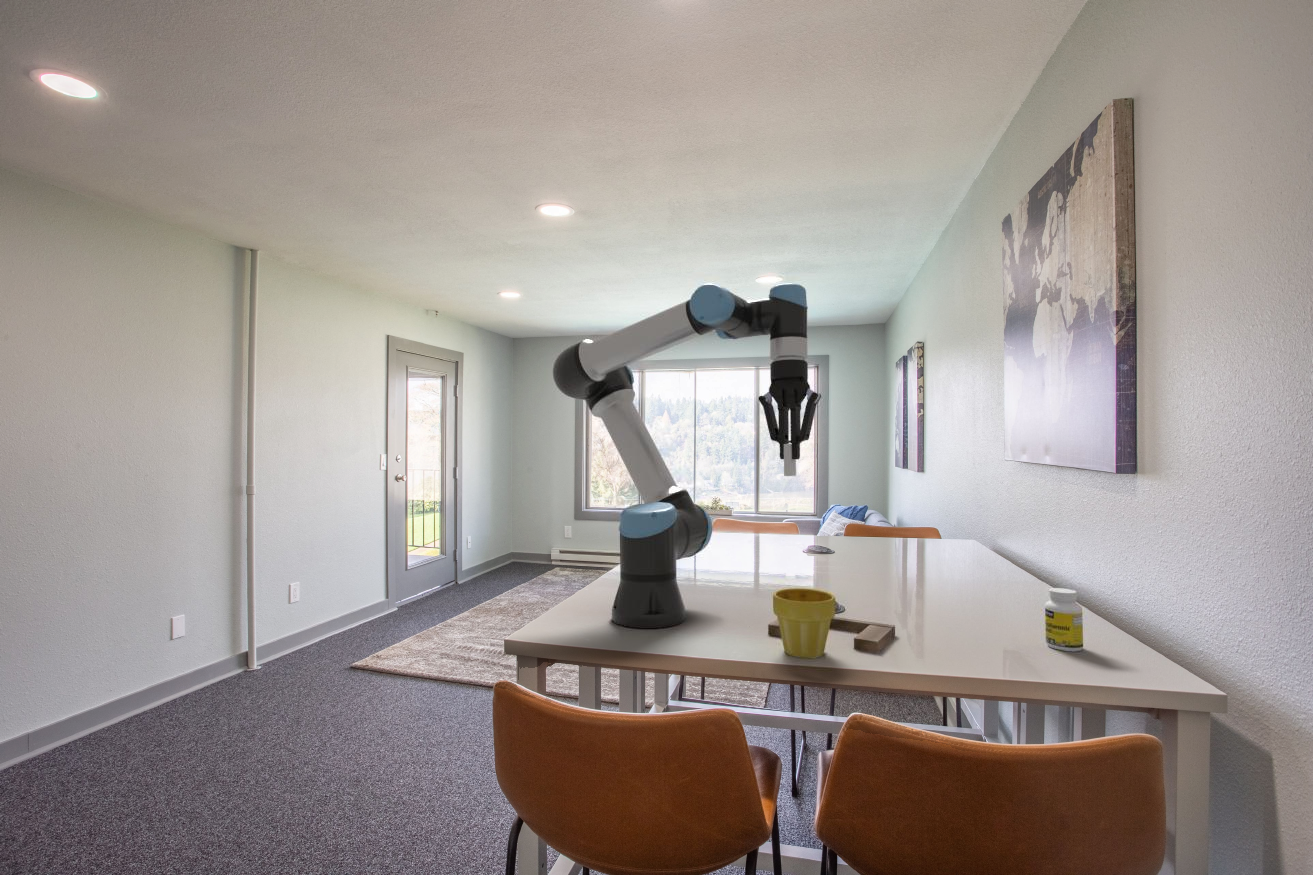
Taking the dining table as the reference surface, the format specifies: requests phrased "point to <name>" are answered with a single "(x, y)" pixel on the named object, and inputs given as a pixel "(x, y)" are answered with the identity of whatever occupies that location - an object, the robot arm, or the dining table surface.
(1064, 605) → the supplement bottle
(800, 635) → the plant pot
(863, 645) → the brown u-shaped block
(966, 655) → the dining table surface
